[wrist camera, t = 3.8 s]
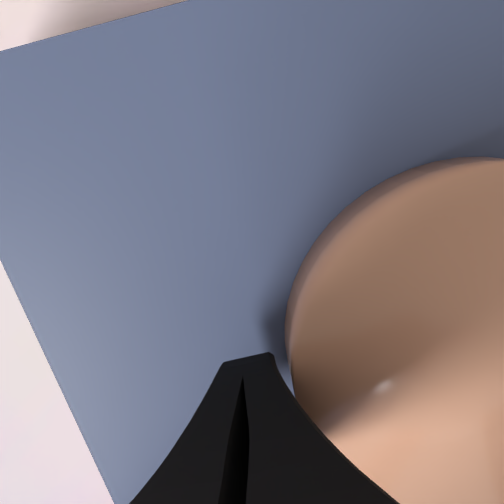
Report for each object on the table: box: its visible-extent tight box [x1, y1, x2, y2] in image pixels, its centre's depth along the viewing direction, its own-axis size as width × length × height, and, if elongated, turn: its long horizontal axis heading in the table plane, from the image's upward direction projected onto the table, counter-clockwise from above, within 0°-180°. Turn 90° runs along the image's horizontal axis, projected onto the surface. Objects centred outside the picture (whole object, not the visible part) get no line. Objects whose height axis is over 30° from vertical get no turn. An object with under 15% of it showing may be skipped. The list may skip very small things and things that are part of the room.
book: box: [0, 0, 504, 504], centre depth 12 cm, size 18×13×3 cm
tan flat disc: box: [285, 156, 504, 504], centre depth 10 cm, size 9×9×2 cm
